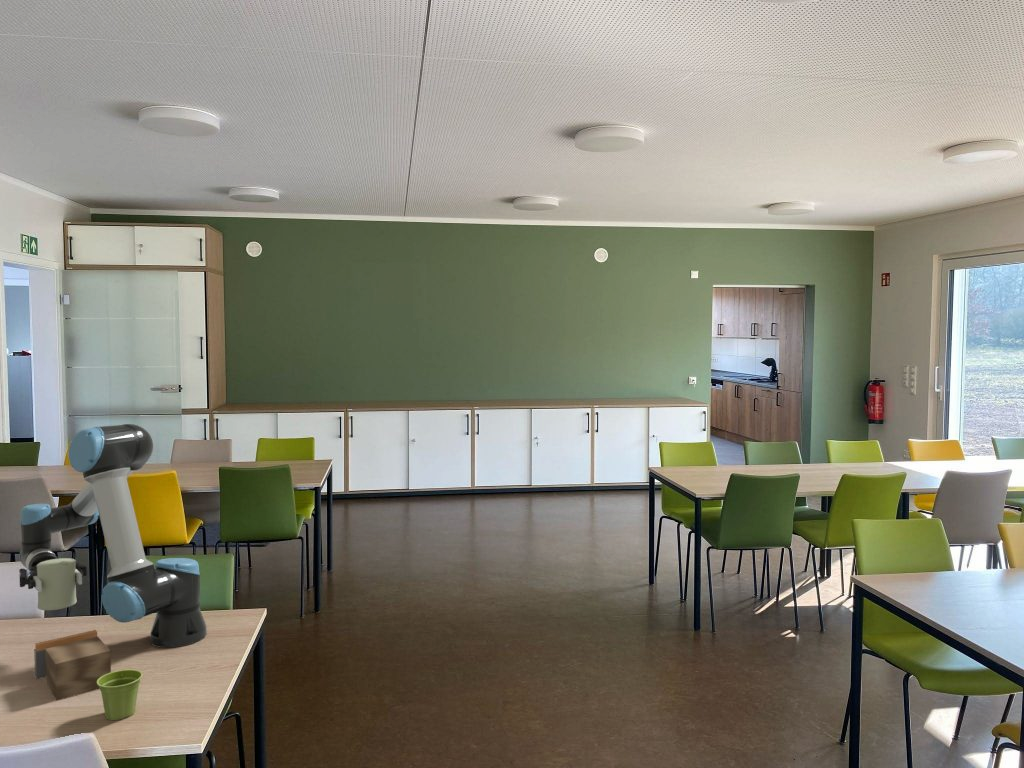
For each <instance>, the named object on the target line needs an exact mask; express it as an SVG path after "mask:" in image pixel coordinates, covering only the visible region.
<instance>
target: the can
mask: <svg viewBox="0 0 1024 768" xmlns="http://www.w3.org/2000/svg"><path fill="white" fill-rule="evenodd" d="M75 563H77V560H76V559H74V558H69V557H67V558H66V557H65V558H63V557H62V558H60V557H59V559H52V560H47V561H43V562H41V563H39V564H37V577H38V578H39V579H40V580H41V585H42V592H38V591H37V606H36V607H37V609H38V610H41V611H55V610H57V611H58V610H62V609H66V608H69V607H72V606H74V605H76V603H78V602H77V601H78V600H77V588H76V587H77V586H76V584H77V582H76V573H75Z"/></svg>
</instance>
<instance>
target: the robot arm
mask: <svg viewBox="0 0 1024 768" xmlns="http://www.w3.org/2000/svg"><path fill="white" fill-rule="evenodd" d="M153 450H154V443H153V439H152V436H151V434H150V433H149V432H148V431H147V429H145V428H144V427H142V426H139V425H138V424H137V425H136V424H132V423H131V424H130V423H124V424H118V425H117V424H116V425H105V426H93V427H90V428H84V429H81V430H79V431H78V432H76V433H75V435H74V436H73V437H72V438H71V441H70V443H69V446H68V453H67V454H68V461H69V463H70V466H71V467H72V468H73V470H74V471H76V472H79V473H81V474H82V475H83V480H84V481H85V482H87V484H86V485H85V486H84V487H83V488H82V489H81V491H79V492H78V494H77V495H76V496H75V497H74V499H73V500H72V501H71V502H70V503H69V504H67V505H62V506H57V507H52V508H51V505H50V504H49V503H34V504H28V505H25V506H23V507H22V508H21V511H20V521H19V523H20V531H21V544H20V545H21V549H20V551H19V560H20V563H21V564H22V566H24V567H25V568H20V569H18V571H19V575H18V576H19V588H24V587H26V585H27V589H28V590H32V589H34V588H35V590H36V591H37V593H38V592H42V585H41V580H40V579H39V578H38V577H37V564H39V563H41V562H43V561H47V560H52V559H60V557H58V556H57V555H56V554H55V553H54V552H53V551H52V534H55V533H56V534H57V533H60V532H64V531H68V530H72V529H78V528H83V527H87V526H88V525H92V524H95V523H96V522H97V521H98V519H99V520H100V524H101V528H102V532H103V536H104V541H105V545H106V546H105V547H106V549H107V553H108V558H109V563H110V567H111V570H110V572H109V573H108V574H107V577H106V578H107V582H108V583H107V584H105V586H104V587H103V588H102V594H101V603H102V605H103V608H104V610H105V612H106V613H107V614H108V615H109V616H110V617H111V619H113V620H115V621H116V622H119V623H124V624H125V623H129V622H133V621H138V620H141V619H143V618H145V617H147V616H149V615H152V614H155V613H156V615H155V617H154V620H153V623H152V628H151V630H150V633H149V634H150V635H149V640H150V644H152V645H153V646H155V647H158V646H159V648H176V647H183V646H187V645H191V644H195V643H196V642H199V641H201V640H203V639H204V638H205V637H206V636H207V632H208V630H207V629H208V628H207V624H206V621H205V619H204V616H203V613H202V610H201V605H200V603H201V598H200V597H201V594H200V592H201V591H200V589H201V588H200V585H201V584H200V583H201V582H200V581H201V580H200V575H201V572H200V568H199V567H200V566H199V562H198V561H197V560H196V559H192V558H187V557H170V558H169V557H168V558H162V559H159V560H156V562H155V565H154V562H152V561H150V560H149V559H147V557H146V553H145V551H144V550H145V549H144V546H143V541H142V538H141V534H140V530H139V529H140V528H139V525H138V520H137V516H136V512H135V508H134V504H133V503H134V502H133V499H132V495H131V492H130V487H129V483H128V478H129V477H130V476H131V475H132V474H133V472H136V471H139V470H140V469H142V468H143V467H144V466H145V465H146V463H147V462H148V461H149V459H150V458H151V456H152V453H153ZM75 573H76V584H78V586H79V585H83V579H84V577H86V576H88V566H87V565H84V564H81V563H79V562H76V563H75Z"/></svg>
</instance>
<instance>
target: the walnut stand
mask: <svg viewBox="0 0 1024 768" xmlns="http://www.w3.org/2000/svg"><path fill="white" fill-rule="evenodd" d="M111 657H112V655H111V650H110V649H109V647H108V646H107V645H106V644H105V643H104V641H102V640H101V638H100V637H99V636H98V637H94V638H90V639H86V640H81V641H77V642H73V643H68V644H64V645H60V646H55V647H51V648H47V649H45V663H46V677H45V684H46V686H47V687H49V688H48V689H49V690H50V693H51V694H52V695H53V698H54V699H55V701H59V700H64V699H68V698H72V697H74V695H75V696H78V694H79V695H82V694H86V693H90V692H92V691H97V690H100V688H99V686H98V685H97V680H98V679H99V678H100V677H102V676H103V675H105V674H108V673H111V672H112V667H111V665H112V664H111V662H112V660H111V659H112V658H111ZM67 697H68V698H67ZM63 698H64V699H63Z"/></svg>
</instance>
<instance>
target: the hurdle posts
mask: <svg viewBox="0 0 1024 768" xmlns="http://www.w3.org/2000/svg"><path fill="white" fill-rule="evenodd" d="M97 637H99V636H98V635H97ZM33 650H34V651H33V652H34V655H33V657H34V677H35V676H36V677H35V679H37V678H38V679H42V678H45V677H44V676H46V663H45V650H40V651H36V650H35V648H34V649H33ZM41 677H42V678H41Z"/></svg>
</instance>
